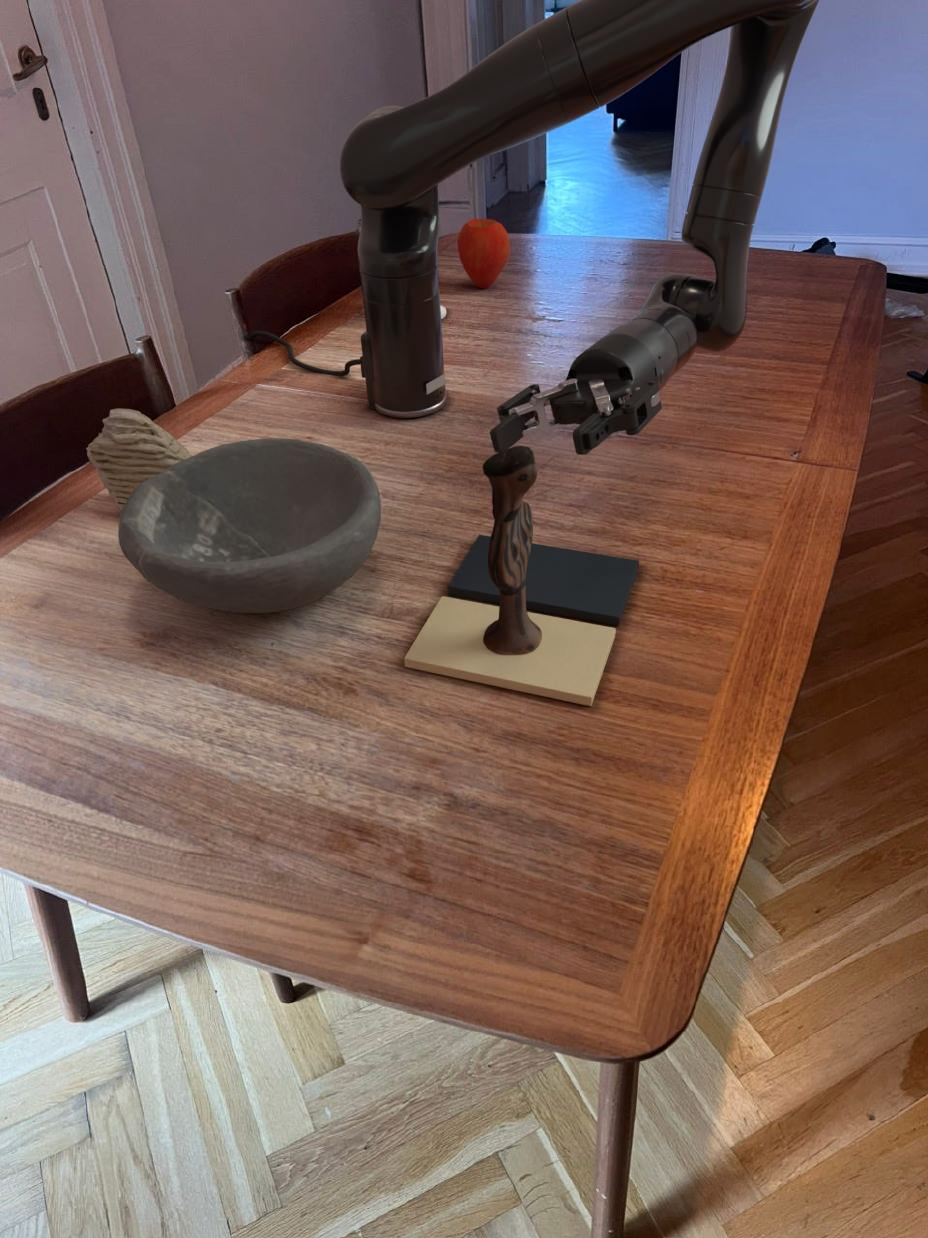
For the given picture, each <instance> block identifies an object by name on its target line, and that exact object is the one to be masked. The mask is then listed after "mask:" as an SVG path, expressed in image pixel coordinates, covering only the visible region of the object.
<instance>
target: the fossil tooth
mask: <svg viewBox="0 0 928 1238" xmlns="http://www.w3.org/2000/svg"><path fill="white" fill-rule="evenodd" d="M101 421H102V423H103V428H102V429H101V432H99V433H98V436H97V437H95V438H94V439H93V440H92V442H90V443H89V444H88V447H86V448H85V450H86V451H87V452H86V454H87V458H88V460H89V461H90V462H91V463H92V465H93V467H94V468H96V469H97V474H98V478H99V479H100V481H101V483H102V485H103V487H104V488H106V489H107V490H108V495H109V496H110V498H112V499H113V501H114V504H115V505H116V506H117V508H118V509H120V510H121V511H122V509H123V507H124V505H125V504H126V502H127V500H128V498H129V496H130V495H131V493H132V491H133V490H134V489H135V488H136V487H137V486H139V485H140V484H141V483H143V482H144V481H146V480H148V479H149V478H151V477H153V476H155V475H158V474H160V473H162V472H165V471H166V470H167V469H168V468H169V467H171V466H172V465H174V464H176V463H178V462H179V461H182V460H185V459H187V458H190V457H192V456H193V454H191V452H190V451H189V450H188V449H187V448H185V447H184V446H183V445H182V444H181V443H180V441H178V439H176V438H175V437H173V436H172V435H171V433H169V432H167V431H166V430H165V429H164V428H162V427H161V426H160V425H158V424H156V422H153V420H152V419H151V418H150V417H148V416H146V415H145V414H144V413H142V412H140V411H139V410H135V409H131V408H119V407H118V408H113V409H110V410H109V415H108V416H107V417H106V418H103V419H102V420H101Z"/></svg>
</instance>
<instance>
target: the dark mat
mask: <svg viewBox="0 0 928 1238" xmlns="http://www.w3.org/2000/svg"><path fill="white" fill-rule="evenodd" d="M490 540H491V535H483V534H478V536H477V537H476V539H475V541H474V543H473V544H472V545H471V547H470V548H469V551H468V552H467V554H466V556H465V557H464V559H463V561H462V562H461V564H460V565H459V567H458V569H457V570H456V572H455V573H454V576H453V577H452V578H451V580H450V582H449V584H448V585H447V594H448V595H450V596H454V597H461V598H464V599H470V600H476V601H481V602H482V601H483V602H487V603H492V604H498V605H499V598H500V589H499V588H497V587H496V586H495V585H494V584H493V582H492V581H491V579H490V575H489V568H488V553H489V542H490ZM639 569H640V560H638V559H632V558H626V557H619V556H614V555H607V554H601V553H596V552H595V553H594V552H590V551H589V552H588V551H584V550H583V551H582V550H576V549H571V548H564V547H557V546H553V545H552V546H551V545H545V544H540V543H534V542H532V545H531V551H530V554H529V558H528V562H527V568H526V610H531V611H536V612H540V613H547V614H552V615H558V616H562V617H563V616H564V617H567V618H572V619H573V618H574V619H579V620H583V621H584V620H585V621H591V622H595V623H601V624H605V625H611V626H617V627H619V626H620V624H621V621H622V619H623V615H624V613H625V609H626V606H627V604H628V602H629V601H628V600H629V597H630V595H631V592H632V589H633V586H634V583H635V580H636V579H637V578H636V577H637V574H638V571H639Z"/></svg>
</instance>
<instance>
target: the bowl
mask: <svg viewBox="0 0 928 1238" xmlns="http://www.w3.org/2000/svg"><path fill="white" fill-rule="evenodd" d="M381 515H382V500H381V494H380V490H379V487H378V484H377V481H376V480H375V478H374V477H373V474H372V472H371V471H370V470H369V469H368V468H367V467H366V465H364V464H363V462H361V461H360V460H359V459H357V458H356V457H355V456H353V455H350V454H349V453H347V452H344V451H342V450H339V449H337V448H334V447H332V446H329V445H325V444H323V443H317V442H313V441H306V440H301V439H298V438H283V437H278V438H277V437H272V438H270V437H269V438H268V437H267V438H254V439H247V440H240V441H235V442H229V443H224V444H221V445H217V446H214V447H210V448H208V449H205V450H202V451H200V452H198V453H196V454H194V455H192V457H190V458H187V459H185V460H182V461H179V462H178V463H176V464H174V465H172V466H171V467H169V468H168V469H167V470H166V471H165V472H162V473H160V474H158V475H155V476H153V477H151V478H149V479H148V480H146V481H144V482H143V483H141V484H140V485H139V486H137V487H136V488H135V489H134V490H133V491H132V493H131V495H130V496H129V498H128V500H127V502H126V504H125V505H124V507H123V509H122V510H121V511H120V513H119V516H118V517H119V518H118V530H117V531H118V534H117V535H118V544H119V547H120V551H121V552H122V554H123V555H124V557H125V558H126V560H128V562H129V563H130V564H131V565H132V566H133V568H134V569H135V570H136V571H138V573H140V575H142V577H144V579H146V581H147V582H149V583H151V584H152V585H153V586H154V587H156V588H157V589H159V590H161V591H163V592H164V593H165V594H168V595H170V596H172V597H173V598H175V599H177V600H180V601H183V602H185V603H189V604H191V605H195V606H198V607H203V608H209V609H215V610H220V611H225V612H231V613H232V612H233V613H242V614H264V613H266V614H267V613H278V612H285V611H288V610H292V609H297V608H300V607H303V606H306V605H309V604H311V603H313V602H315V601H318V600H319V599H321V598H323V597H325V596H327V595H330V594H331V593H333V592H334V591H335V590H337V589H339V587H341V586H343V585H344V584H345V583H346V582H347V581H348V580H349V579H350V578H352V577H353V576H354V575H355V574H356V573H357V572H358V571H359V569H360V568H361V567H362V566H363V565H364V563H365V561H366V560H367V559H368V557H369V555H370V553H371V552H372V550H373V547H374V545H375V542H376V539H377V537H378V533H379V529H380V524H381V520H382V516H381Z"/></svg>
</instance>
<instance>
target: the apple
mask: <svg viewBox="0 0 928 1238" xmlns="http://www.w3.org/2000/svg"><path fill="white" fill-rule="evenodd" d="M456 245H457V249H458V250H457V251H458V256H459V260H460V263H461V264H462V267H463V270H464V271H465V273H466V274H467V276H468V277H469V280H471V282H472V283H473V284H474V286H475V287H477V288H478V289H484V290H485V289H488V288H490V287H491V286H492V285H493V284H494V283H495V282H496V280H497V278H498V277H499V276H500V275H501V272H502V271H503V269H504V268H505V266H506V264H507V262H508V260H509V258H510V254H511V241H510V237H509V235H508V232H507V230H506V229H505V227H504V226H503V224H502V223H500V222H498V221H496V220H495V219H489V218H483V217H482V218H473V219H470V220H469V221H466V223H465V224H463V226H462V227H461V229H460V231H459V233H458V238H457V241H456Z"/></svg>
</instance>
